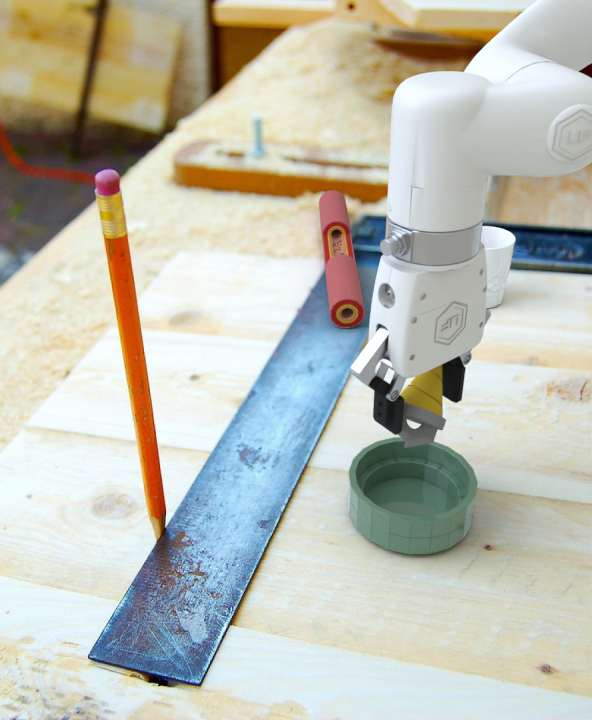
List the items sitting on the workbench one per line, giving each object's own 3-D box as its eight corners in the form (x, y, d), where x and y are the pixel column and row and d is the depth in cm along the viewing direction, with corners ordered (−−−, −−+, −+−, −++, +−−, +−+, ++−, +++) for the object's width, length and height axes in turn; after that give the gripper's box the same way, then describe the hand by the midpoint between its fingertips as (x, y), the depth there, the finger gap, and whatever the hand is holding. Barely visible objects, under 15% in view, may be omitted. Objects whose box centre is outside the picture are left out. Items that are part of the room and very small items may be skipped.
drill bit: (370, 436, 73) (407, 340, 74) (422, 457, 73) (458, 360, 74) (383, 438, 68) (422, 334, 69) (439, 460, 68) (478, 356, 69)
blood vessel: (364, 328, 110) (365, 298, 107) (329, 329, 110) (329, 299, 108) (345, 214, 145) (345, 189, 142) (318, 215, 145) (318, 190, 142)
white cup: (472, 281, 120) (479, 221, 114) (517, 297, 114) (526, 236, 109) (440, 298, 116) (446, 237, 110) (485, 317, 110) (494, 253, 105)
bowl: (409, 457, 86) (412, 422, 83) (498, 520, 77) (504, 483, 74) (323, 504, 81) (323, 469, 78) (408, 578, 72) (411, 541, 69)
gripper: (385, 284, 56) (375, 469, 65) (541, 220, 63) (512, 395, 73) (319, 251, 61) (319, 427, 71) (471, 195, 68) (452, 361, 78)
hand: (417, 409), depth 72 cm, fingers closed on drill bit, 7 cm apart
